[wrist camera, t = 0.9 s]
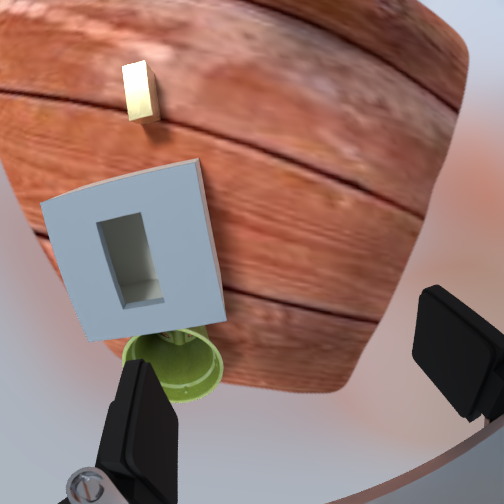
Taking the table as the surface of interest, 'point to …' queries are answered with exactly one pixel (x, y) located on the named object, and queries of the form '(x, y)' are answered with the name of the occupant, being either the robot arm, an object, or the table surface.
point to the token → (141, 93)
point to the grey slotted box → (138, 252)
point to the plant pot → (179, 361)
